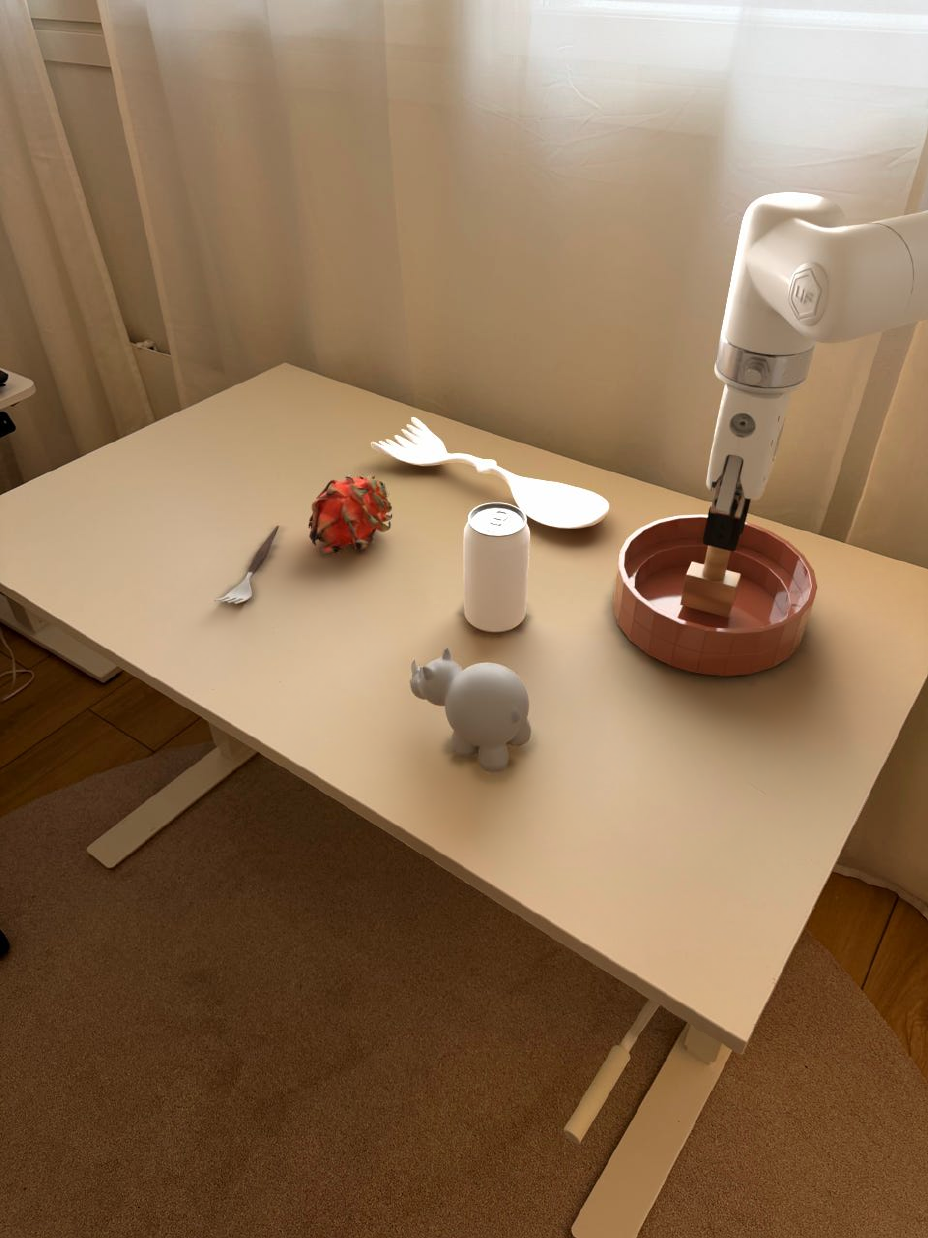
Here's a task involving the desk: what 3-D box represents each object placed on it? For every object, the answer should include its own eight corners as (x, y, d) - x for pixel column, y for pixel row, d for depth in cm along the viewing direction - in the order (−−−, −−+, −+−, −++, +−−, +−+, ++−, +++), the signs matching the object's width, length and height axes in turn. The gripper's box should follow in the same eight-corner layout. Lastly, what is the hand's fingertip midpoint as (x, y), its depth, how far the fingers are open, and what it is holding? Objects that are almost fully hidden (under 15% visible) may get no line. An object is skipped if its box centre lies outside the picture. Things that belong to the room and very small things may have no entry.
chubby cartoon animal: (440, 679, 86) (438, 612, 80) (543, 738, 80) (548, 669, 74) (389, 723, 81) (383, 655, 76) (494, 788, 76) (496, 720, 70)
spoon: (413, 435, 121) (412, 412, 119) (620, 515, 107) (624, 490, 104) (369, 463, 116) (367, 439, 114) (581, 551, 101) (584, 525, 99)
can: (454, 625, 92) (452, 529, 84) (477, 588, 96) (477, 494, 88) (513, 641, 90) (517, 544, 82) (534, 603, 94) (540, 507, 86)
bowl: (814, 585, 96) (829, 540, 92) (784, 703, 83) (799, 656, 79) (641, 542, 102) (648, 498, 98) (587, 645, 89) (593, 599, 85)
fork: (289, 530, 104) (287, 516, 103) (239, 617, 93) (236, 603, 91) (268, 528, 105) (265, 514, 104) (215, 615, 93) (212, 600, 92)
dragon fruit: (396, 528, 107) (328, 588, 102) (347, 476, 107) (275, 533, 101) (421, 498, 100) (348, 561, 94) (368, 442, 100) (292, 502, 94)
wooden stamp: (733, 604, 92) (762, 488, 83) (728, 618, 90) (757, 501, 81) (685, 591, 94) (708, 476, 84) (679, 605, 92) (703, 489, 83)
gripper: (794, 408, 68) (745, 596, 80) (823, 329, 79) (776, 505, 91) (695, 389, 70) (662, 574, 82) (737, 315, 81) (703, 488, 93)
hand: (722, 536), depth 86 cm, fingers closed on wooden stamp, 2 cm apart
